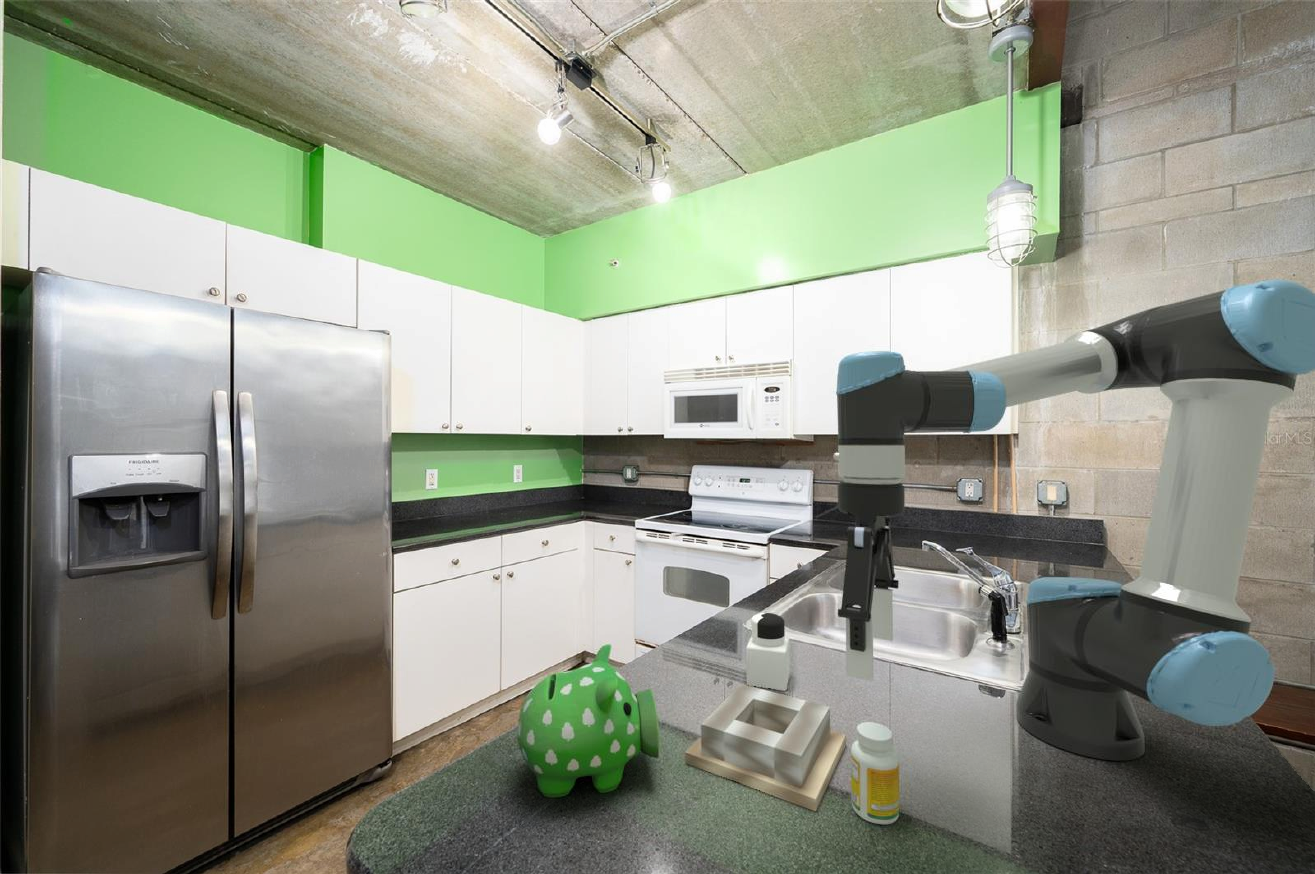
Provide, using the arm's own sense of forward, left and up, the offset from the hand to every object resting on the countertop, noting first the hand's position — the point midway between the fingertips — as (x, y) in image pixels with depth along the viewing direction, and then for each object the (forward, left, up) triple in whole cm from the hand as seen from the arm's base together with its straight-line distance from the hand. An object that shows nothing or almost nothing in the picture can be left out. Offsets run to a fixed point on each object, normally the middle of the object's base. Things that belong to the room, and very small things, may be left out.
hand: (871, 656), depth 63 cm
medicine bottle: (+23, -26, -19) cm, 39 cm away
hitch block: (+15, -4, -18) cm, 24 cm away
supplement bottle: (0, 0, -19) cm, 19 cm away
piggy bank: (+34, +13, -19) cm, 41 cm away
